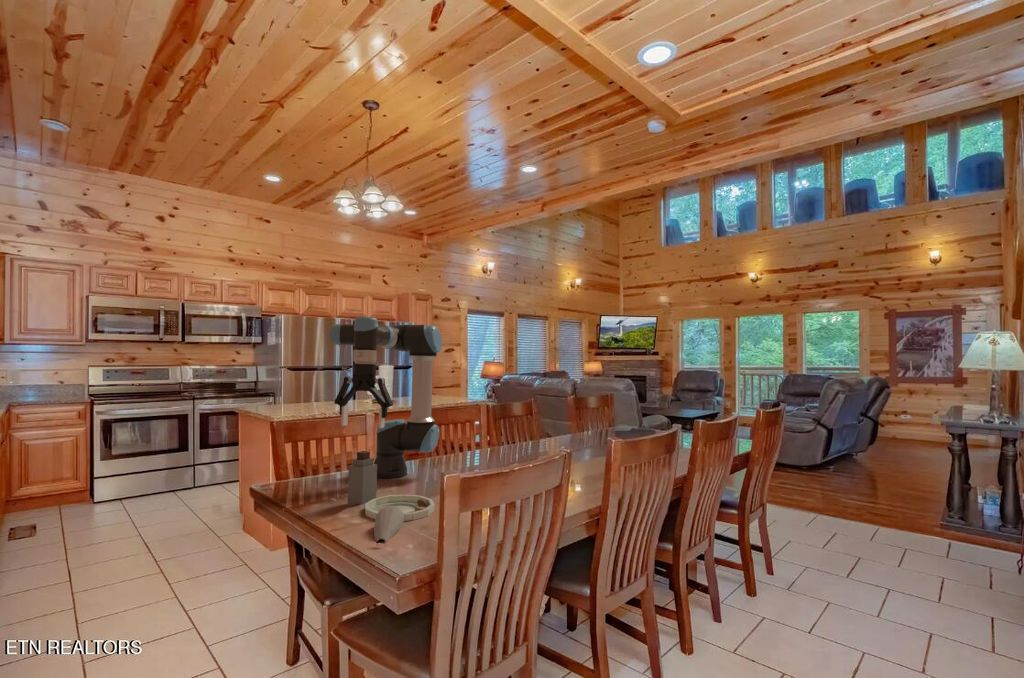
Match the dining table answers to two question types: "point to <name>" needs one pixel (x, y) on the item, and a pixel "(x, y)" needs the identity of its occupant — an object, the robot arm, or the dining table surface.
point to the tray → (400, 506)
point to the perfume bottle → (362, 479)
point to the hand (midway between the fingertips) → (362, 426)
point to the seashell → (388, 523)
